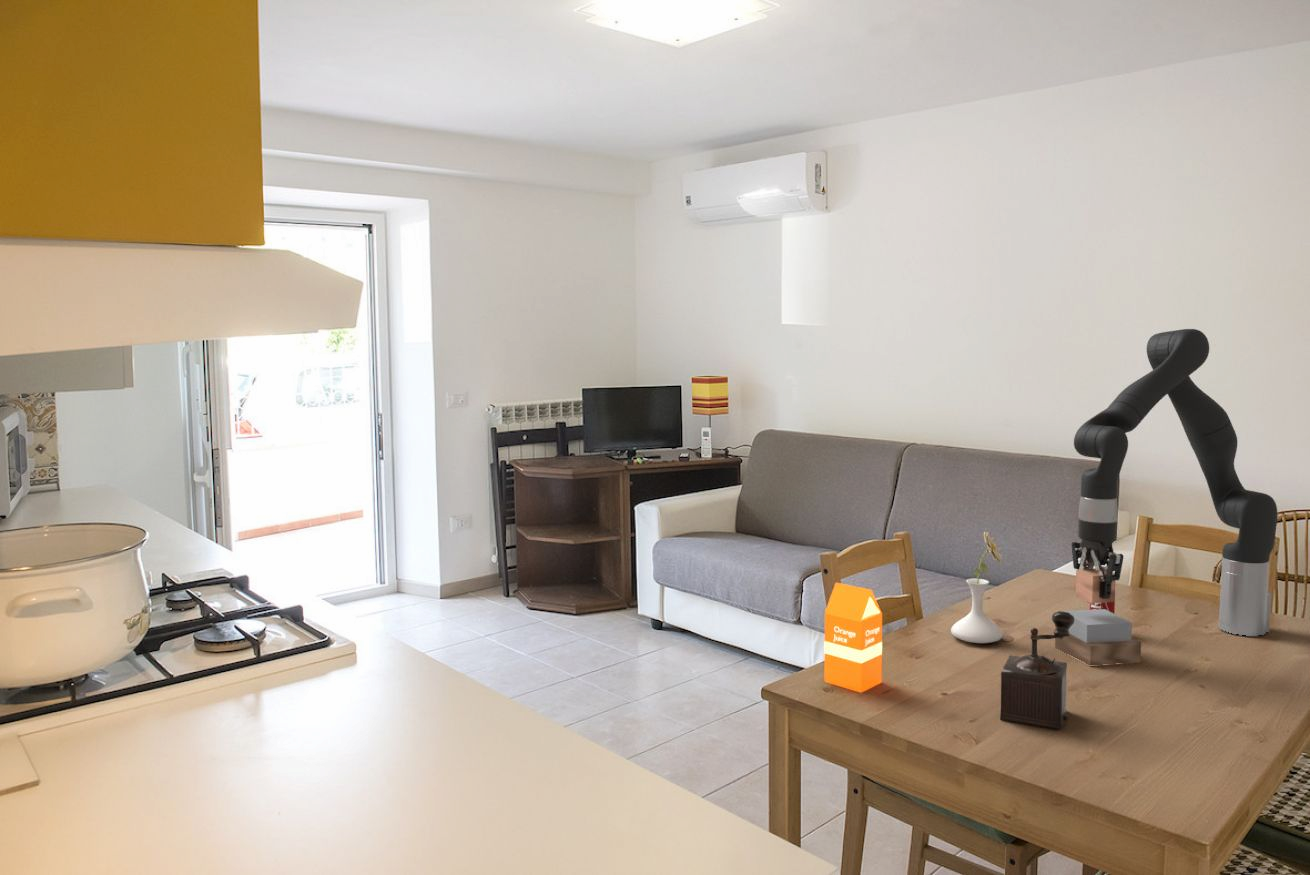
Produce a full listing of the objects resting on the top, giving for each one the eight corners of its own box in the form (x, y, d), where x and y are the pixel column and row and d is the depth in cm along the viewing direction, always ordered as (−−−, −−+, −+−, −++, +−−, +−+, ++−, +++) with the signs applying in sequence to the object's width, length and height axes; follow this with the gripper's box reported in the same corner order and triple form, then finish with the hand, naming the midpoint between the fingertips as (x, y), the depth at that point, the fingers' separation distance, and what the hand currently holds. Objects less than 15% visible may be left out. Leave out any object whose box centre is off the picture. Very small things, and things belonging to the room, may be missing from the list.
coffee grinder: (1064, 732, 162) (1067, 633, 160) (998, 720, 167) (1000, 624, 165) (1073, 701, 175) (1076, 610, 173) (1011, 691, 181) (1014, 602, 179)
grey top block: (1104, 626, 206) (1104, 609, 205) (1131, 641, 196) (1131, 622, 195) (1061, 628, 205) (1062, 611, 204) (1086, 643, 195) (1087, 624, 194)
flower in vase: (986, 651, 204) (989, 540, 201) (941, 639, 212) (942, 533, 210) (1015, 638, 212) (1018, 532, 210) (970, 627, 221) (972, 525, 218)
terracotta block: (1097, 594, 202) (1098, 568, 202) (1114, 601, 197) (1115, 574, 196) (1075, 596, 201) (1076, 569, 201) (1092, 603, 196) (1093, 576, 195)
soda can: (1117, 636, 213) (1119, 585, 212) (1095, 636, 213) (1096, 585, 212) (1107, 629, 218) (1109, 579, 217) (1085, 629, 218) (1086, 579, 217)
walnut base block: (1102, 646, 208) (1103, 624, 207) (1140, 664, 196) (1141, 641, 195) (1054, 650, 205) (1055, 628, 205) (1090, 668, 194) (1090, 645, 193)
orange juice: (845, 671, 193) (846, 578, 191) (882, 682, 186) (883, 586, 184) (823, 681, 187) (824, 586, 185) (860, 693, 181) (861, 594, 179)
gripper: (1136, 523, 191) (1133, 602, 193) (1091, 511, 205) (1088, 584, 207) (1105, 525, 190) (1102, 604, 191) (1061, 512, 204) (1058, 587, 205)
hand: (1095, 594), depth 199 cm, fingers closed on terracotta block, 5 cm apart
